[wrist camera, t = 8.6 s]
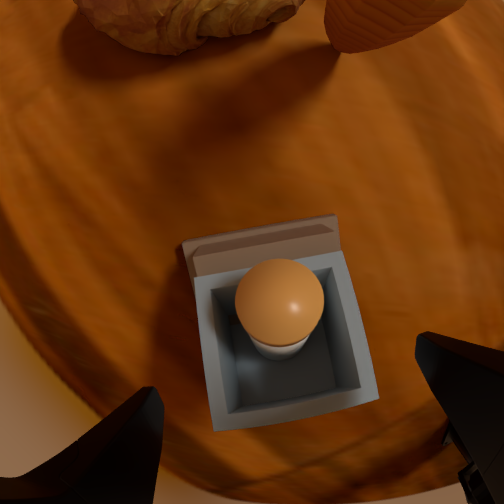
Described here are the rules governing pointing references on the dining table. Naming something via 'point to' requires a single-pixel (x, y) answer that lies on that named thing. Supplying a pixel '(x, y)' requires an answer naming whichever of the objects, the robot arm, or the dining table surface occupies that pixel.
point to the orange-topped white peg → (279, 306)
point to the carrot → (381, 21)
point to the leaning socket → (242, 348)
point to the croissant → (181, 20)
